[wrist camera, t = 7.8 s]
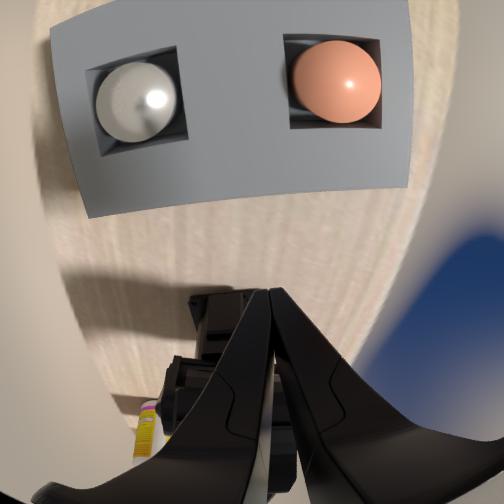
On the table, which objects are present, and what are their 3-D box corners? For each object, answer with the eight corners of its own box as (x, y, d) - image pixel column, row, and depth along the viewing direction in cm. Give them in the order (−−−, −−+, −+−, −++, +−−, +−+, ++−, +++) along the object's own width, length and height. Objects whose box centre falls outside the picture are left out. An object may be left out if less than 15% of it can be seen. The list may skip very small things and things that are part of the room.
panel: (380, 166, 19) (407, 187, 16) (111, 192, 19) (88, 218, 16) (376, 1, 12) (406, -10, 9) (81, 32, 13) (49, 28, 9)
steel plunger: (189, 124, 16) (179, 134, 14) (123, 137, 16) (104, 149, 14) (180, 57, 14) (168, 53, 11) (112, 73, 14) (90, 75, 11)
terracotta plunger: (359, 115, 15) (380, 123, 13) (290, 115, 16) (300, 123, 13) (357, 48, 13) (379, 44, 11) (284, 45, 13) (294, 39, 11)
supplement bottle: (141, 412, 38) (129, 489, 27) (142, 393, 34) (127, 481, 23) (185, 421, 39) (179, 498, 28) (191, 404, 35) (185, 492, 25)
